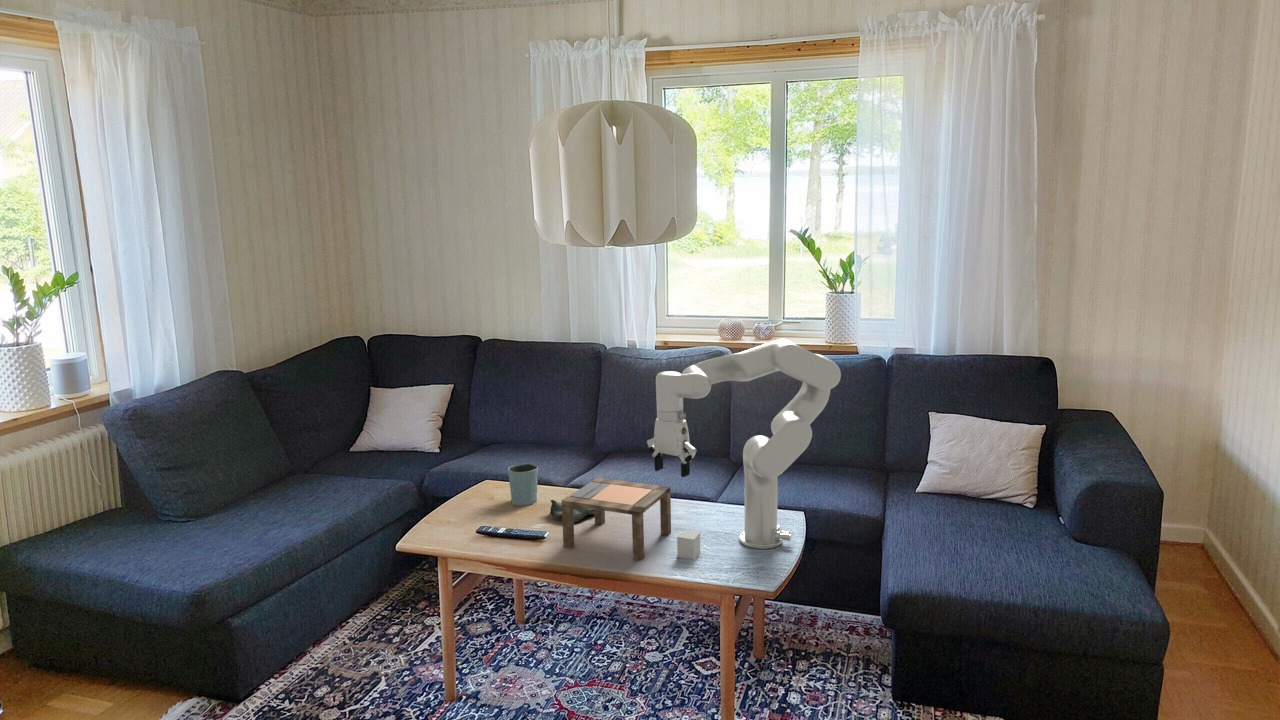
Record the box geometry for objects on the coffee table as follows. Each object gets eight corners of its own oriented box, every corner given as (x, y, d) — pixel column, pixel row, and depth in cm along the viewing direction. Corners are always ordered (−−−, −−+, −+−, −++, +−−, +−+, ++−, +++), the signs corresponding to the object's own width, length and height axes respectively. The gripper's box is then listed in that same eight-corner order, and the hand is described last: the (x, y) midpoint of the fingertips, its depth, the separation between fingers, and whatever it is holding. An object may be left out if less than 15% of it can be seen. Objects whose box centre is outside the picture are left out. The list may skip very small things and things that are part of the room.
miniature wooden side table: (671, 532, 256) (670, 487, 253) (640, 560, 236) (639, 511, 234) (598, 521, 266) (596, 477, 264) (563, 547, 247) (561, 500, 244)
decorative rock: (570, 489, 285) (609, 492, 279) (571, 507, 286) (610, 510, 279) (540, 504, 268) (581, 507, 262) (542, 523, 269) (582, 526, 262)
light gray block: (700, 552, 241) (700, 533, 240) (694, 559, 236) (693, 539, 235) (684, 550, 243) (683, 530, 242) (677, 556, 238) (677, 536, 237)
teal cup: (506, 506, 281) (505, 472, 279) (512, 496, 291) (510, 463, 289) (537, 506, 281) (535, 472, 278) (541, 496, 291) (540, 462, 288)
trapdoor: (653, 502, 252) (652, 489, 251) (633, 518, 239) (632, 504, 239) (591, 493, 261) (591, 481, 260) (569, 508, 248) (569, 495, 247)
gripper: (702, 416, 236) (704, 474, 239) (655, 408, 247) (657, 464, 250) (686, 422, 230) (688, 481, 233) (638, 413, 241) (640, 470, 245)
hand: (672, 472), depth 242 cm, fingers open, 9 cm apart
